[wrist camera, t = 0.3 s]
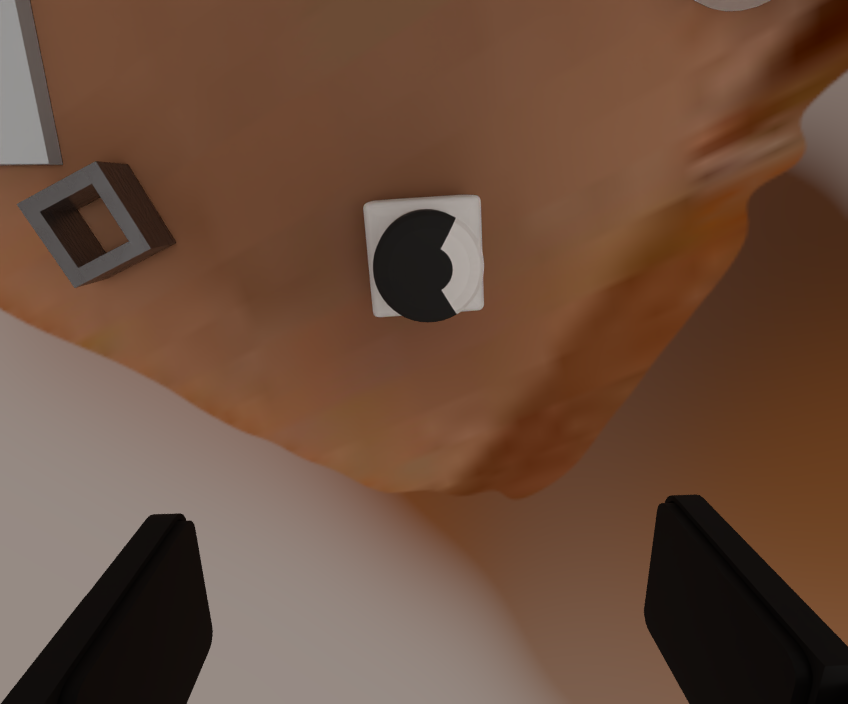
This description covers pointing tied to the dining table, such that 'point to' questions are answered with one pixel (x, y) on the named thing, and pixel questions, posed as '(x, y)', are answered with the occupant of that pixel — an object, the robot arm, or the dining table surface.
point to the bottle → (731, 4)
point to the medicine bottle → (425, 256)
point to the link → (72, 236)
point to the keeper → (24, 92)
